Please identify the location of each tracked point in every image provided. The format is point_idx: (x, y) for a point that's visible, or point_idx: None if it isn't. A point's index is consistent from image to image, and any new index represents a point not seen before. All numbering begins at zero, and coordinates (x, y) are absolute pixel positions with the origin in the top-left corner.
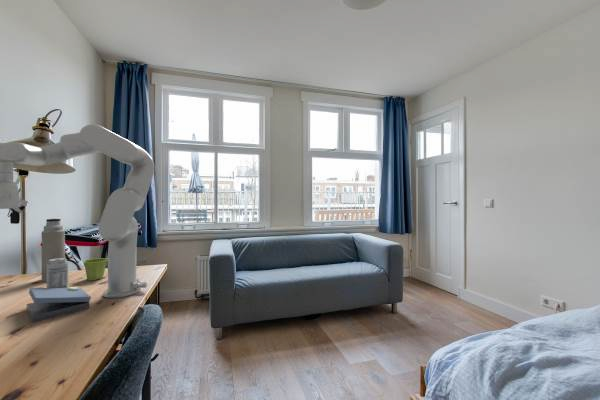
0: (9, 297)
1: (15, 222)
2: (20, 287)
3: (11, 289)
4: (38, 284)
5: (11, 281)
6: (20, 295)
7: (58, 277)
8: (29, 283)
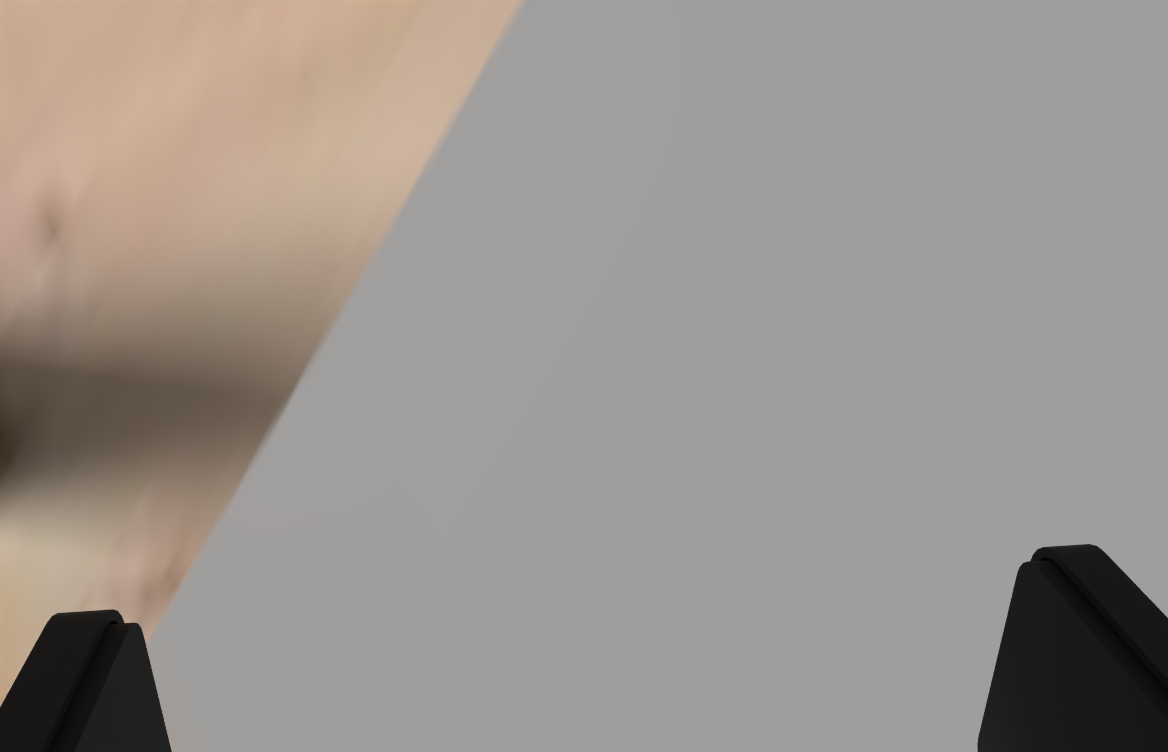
0: (376, 193)
1: (141, 680)
2: (145, 426)
3: (216, 439)
4: (7, 361)
5: None
6: (304, 150)
7: None
8: (29, 482)
